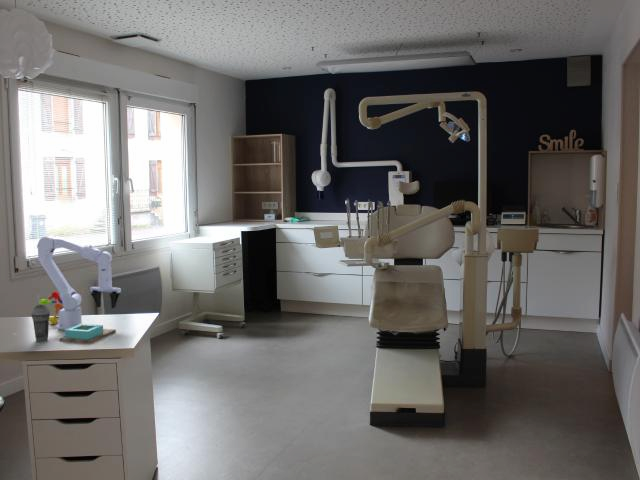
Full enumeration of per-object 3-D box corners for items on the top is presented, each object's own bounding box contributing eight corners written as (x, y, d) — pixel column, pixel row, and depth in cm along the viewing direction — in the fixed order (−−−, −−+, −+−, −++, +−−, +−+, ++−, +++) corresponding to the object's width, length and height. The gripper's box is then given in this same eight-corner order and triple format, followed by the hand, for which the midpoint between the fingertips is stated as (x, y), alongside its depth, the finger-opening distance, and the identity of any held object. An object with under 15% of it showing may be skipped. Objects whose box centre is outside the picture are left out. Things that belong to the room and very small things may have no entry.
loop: (65, 337, 270) (65, 329, 270) (81, 331, 281) (80, 323, 280) (88, 339, 268) (88, 331, 267) (103, 333, 278) (103, 325, 278)
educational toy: (77, 321, 308) (78, 291, 305) (56, 328, 296) (57, 296, 294) (54, 315, 314) (55, 286, 312) (32, 321, 302) (33, 290, 300)
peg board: (59, 341, 270) (59, 327, 269) (86, 330, 288) (85, 317, 287) (91, 343, 266) (90, 330, 266) (115, 332, 285) (115, 319, 284)
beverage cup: (39, 344, 265) (37, 296, 263) (28, 341, 269) (26, 294, 267) (54, 340, 271) (52, 293, 269) (44, 337, 275) (42, 292, 273)
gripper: (85, 279, 288) (87, 308, 290) (114, 280, 285) (115, 310, 286) (94, 276, 295) (95, 305, 296) (123, 277, 292) (123, 306, 293)
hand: (106, 307), depth 292 cm, fingers open, 7 cm apart
